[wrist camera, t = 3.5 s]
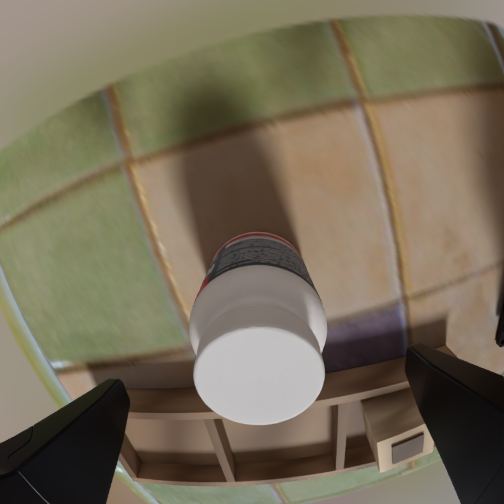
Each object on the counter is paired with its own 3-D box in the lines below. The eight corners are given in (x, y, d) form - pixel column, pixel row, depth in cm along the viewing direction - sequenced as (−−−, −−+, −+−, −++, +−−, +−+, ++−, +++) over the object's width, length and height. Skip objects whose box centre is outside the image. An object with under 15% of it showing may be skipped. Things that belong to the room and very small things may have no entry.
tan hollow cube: (413, 381, 19) (437, 420, 15) (414, 416, 20) (433, 453, 16) (361, 402, 19) (377, 445, 15) (366, 434, 20) (380, 475, 16)
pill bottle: (204, 233, 17) (155, 304, 8) (303, 227, 17) (352, 292, 8) (215, 323, 18) (188, 437, 10) (305, 318, 18) (338, 430, 9)
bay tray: (446, 345, 19) (462, 363, 16) (427, 426, 21) (437, 445, 19) (101, 388, 20) (88, 409, 17) (140, 460, 22) (133, 481, 20)
